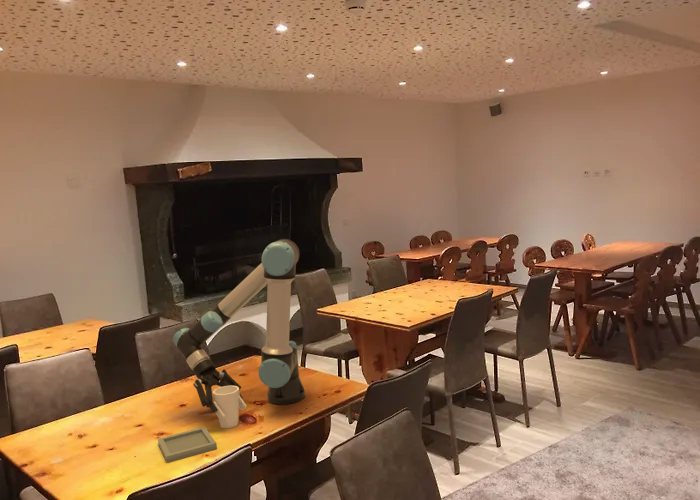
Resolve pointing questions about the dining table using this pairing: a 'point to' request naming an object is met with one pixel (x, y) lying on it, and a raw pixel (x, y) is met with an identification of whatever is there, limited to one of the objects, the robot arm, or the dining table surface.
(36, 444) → the dining table surface
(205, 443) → the tray
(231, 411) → the foam cup
